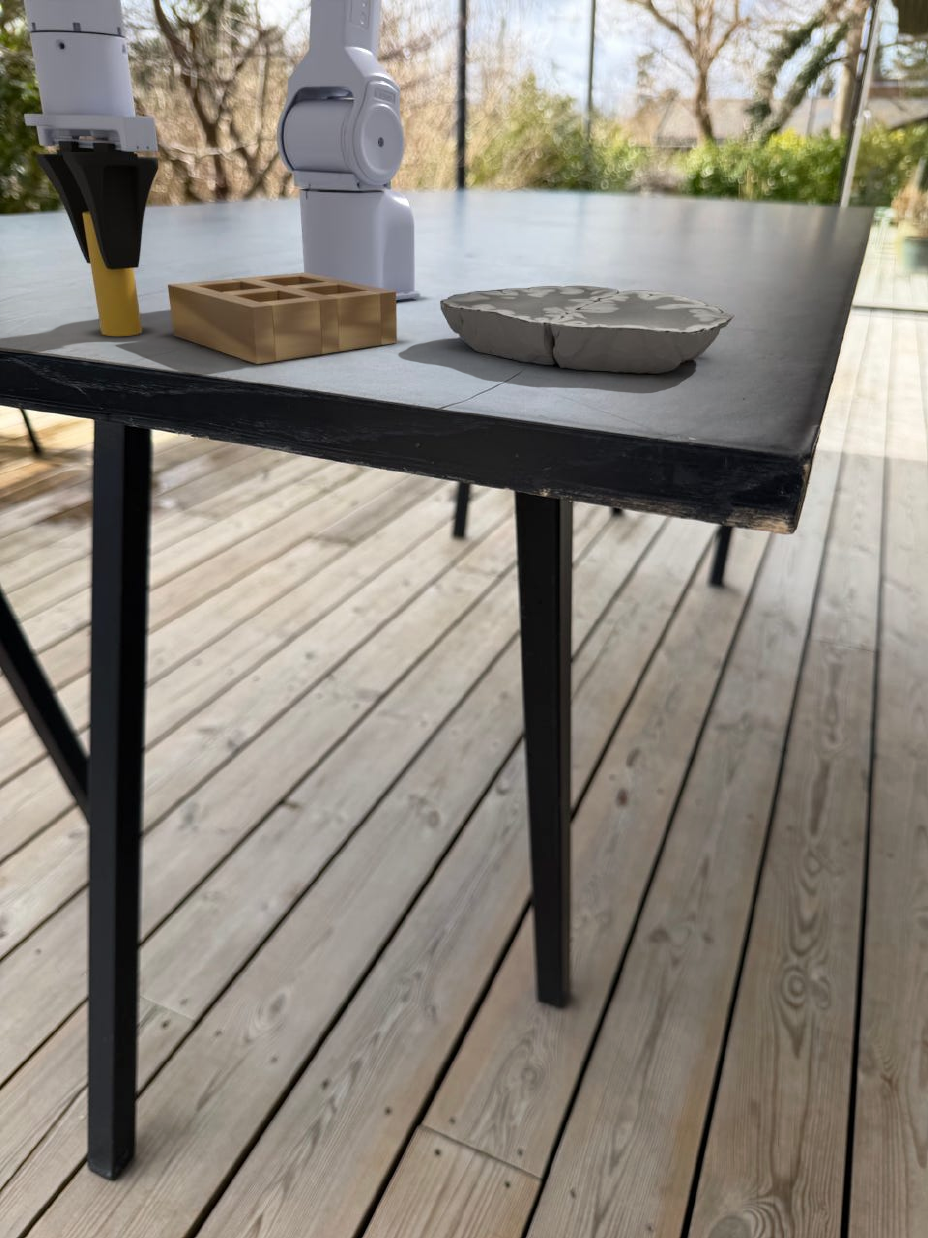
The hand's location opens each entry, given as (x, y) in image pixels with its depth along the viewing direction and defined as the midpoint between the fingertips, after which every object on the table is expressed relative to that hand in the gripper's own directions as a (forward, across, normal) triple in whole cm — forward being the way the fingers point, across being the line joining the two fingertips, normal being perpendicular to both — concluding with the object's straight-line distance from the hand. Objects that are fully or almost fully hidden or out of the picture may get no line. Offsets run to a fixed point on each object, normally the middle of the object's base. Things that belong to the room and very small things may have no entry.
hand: (112, 265), depth 64 cm
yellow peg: (+5, 0, 0) cm, 5 cm away
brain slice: (+5, +24, +24) cm, 34 cm away
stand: (+5, +9, +8) cm, 13 cm away
